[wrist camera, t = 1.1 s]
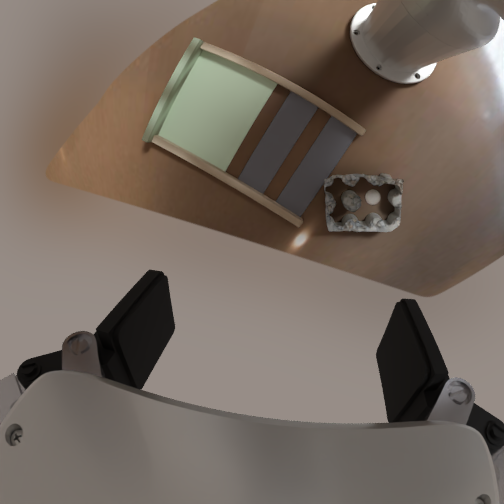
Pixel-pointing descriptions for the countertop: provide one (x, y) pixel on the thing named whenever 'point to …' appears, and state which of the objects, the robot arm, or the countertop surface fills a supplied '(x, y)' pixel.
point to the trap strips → (281, 142)
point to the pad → (216, 108)
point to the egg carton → (371, 197)
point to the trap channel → (152, 136)
